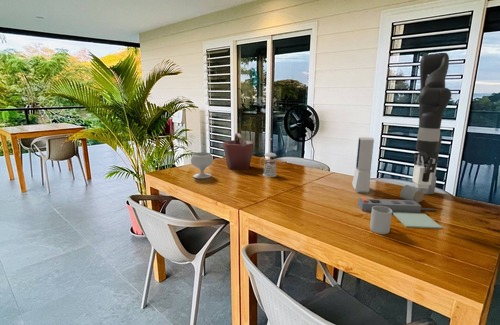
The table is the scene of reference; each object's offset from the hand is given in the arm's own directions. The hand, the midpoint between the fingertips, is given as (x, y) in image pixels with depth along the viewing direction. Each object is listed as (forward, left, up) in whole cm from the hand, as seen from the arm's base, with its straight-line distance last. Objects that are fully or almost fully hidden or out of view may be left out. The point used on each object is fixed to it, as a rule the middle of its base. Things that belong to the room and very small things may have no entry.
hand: (421, 179), depth 118 cm
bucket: (+88, -84, -19) cm, 123 cm away
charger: (0, 0, -3) cm, 3 cm away
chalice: (+108, -56, -19) cm, 123 cm away
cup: (+18, +10, -19) cm, 28 cm away
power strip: (+3, -12, -18) cm, 22 cm away
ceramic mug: (-10, -25, -19) cm, 33 cm away
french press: (+65, -65, -19) cm, 94 cm away
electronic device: (+12, -40, -19) cm, 46 cm away
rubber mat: (0, 0, -18) cm, 18 cm away
